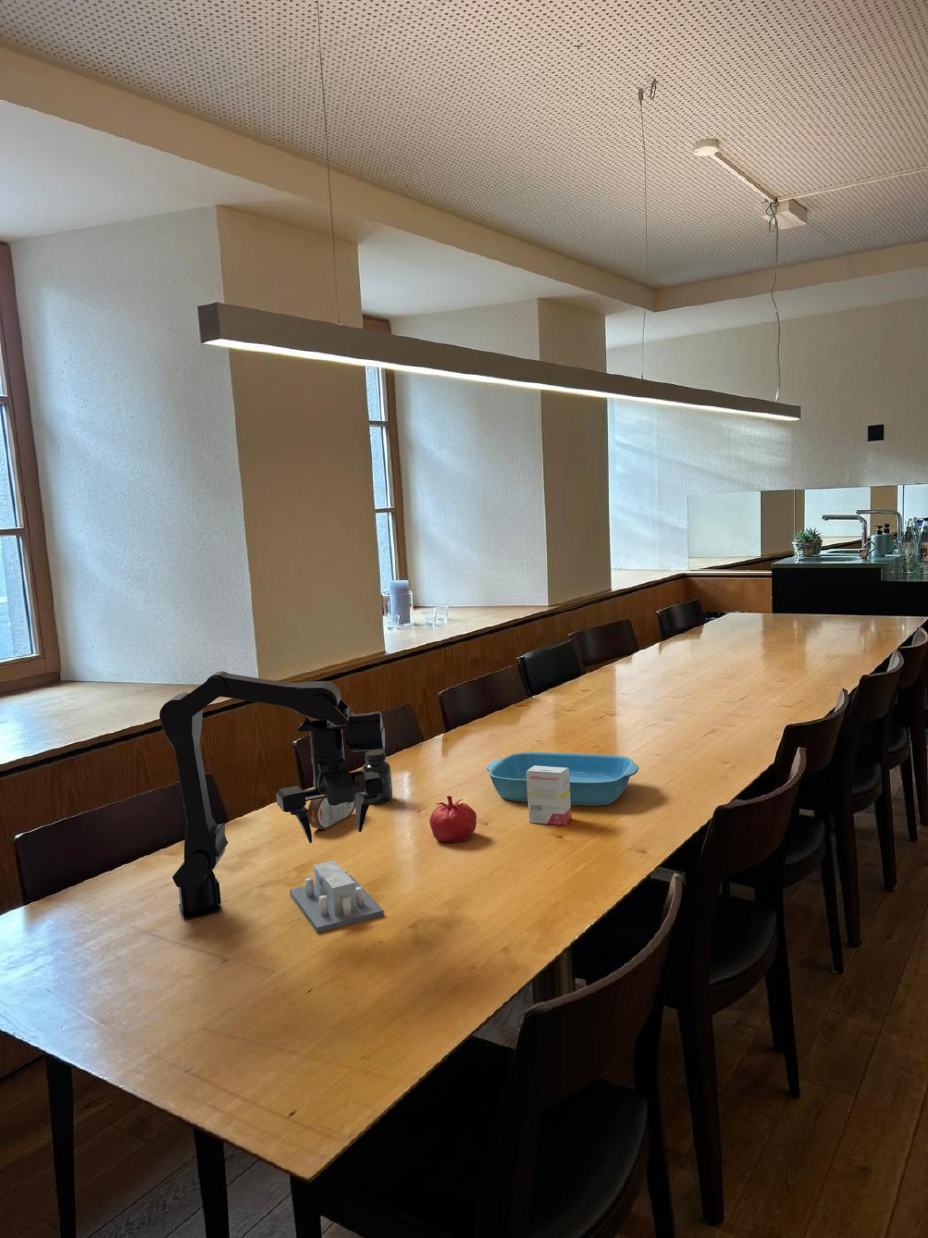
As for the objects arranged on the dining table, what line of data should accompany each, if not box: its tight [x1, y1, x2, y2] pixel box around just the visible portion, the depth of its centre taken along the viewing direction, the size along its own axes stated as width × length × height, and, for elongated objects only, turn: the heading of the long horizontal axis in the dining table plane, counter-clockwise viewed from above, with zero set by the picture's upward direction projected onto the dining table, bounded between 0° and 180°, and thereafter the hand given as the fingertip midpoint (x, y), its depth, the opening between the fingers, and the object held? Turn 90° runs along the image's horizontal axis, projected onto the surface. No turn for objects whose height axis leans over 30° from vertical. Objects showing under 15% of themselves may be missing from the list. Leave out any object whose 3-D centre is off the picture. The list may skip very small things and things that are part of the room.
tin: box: [307, 797, 355, 830], centre depth 208 cm, size 15×3×8 cm, turn 150°
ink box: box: [526, 766, 572, 826], centre depth 201 cm, size 9×5×12 cm, turn 67°
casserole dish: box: [485, 751, 640, 807], centre depth 219 cm, size 37×22×7 cm, turn 68°
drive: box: [312, 860, 357, 915], centre depth 165 cm, size 4×12×5 cm, turn 25°
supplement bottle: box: [362, 750, 394, 806], centre depth 222 cm, size 7×7×12 cm
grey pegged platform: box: [289, 869, 385, 934], centre depth 165 cm, size 12×18×4 cm, turn 25°
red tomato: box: [429, 795, 478, 843], centre depth 194 cm, size 10×10×9 cm
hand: (335, 837), depth 165 cm, fingers open, 9 cm apart
